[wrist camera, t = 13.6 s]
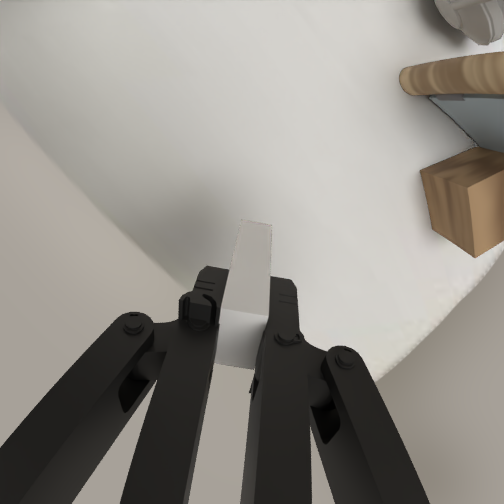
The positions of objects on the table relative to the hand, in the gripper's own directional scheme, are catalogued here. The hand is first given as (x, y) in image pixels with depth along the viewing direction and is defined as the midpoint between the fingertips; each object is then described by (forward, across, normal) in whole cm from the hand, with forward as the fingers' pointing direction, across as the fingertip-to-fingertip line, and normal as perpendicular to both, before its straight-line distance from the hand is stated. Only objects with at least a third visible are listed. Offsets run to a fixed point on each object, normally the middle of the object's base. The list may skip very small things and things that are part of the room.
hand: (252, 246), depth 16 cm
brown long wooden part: (+17, +15, +13) cm, 26 cm away
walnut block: (+17, +21, +3) cm, 27 cm away
